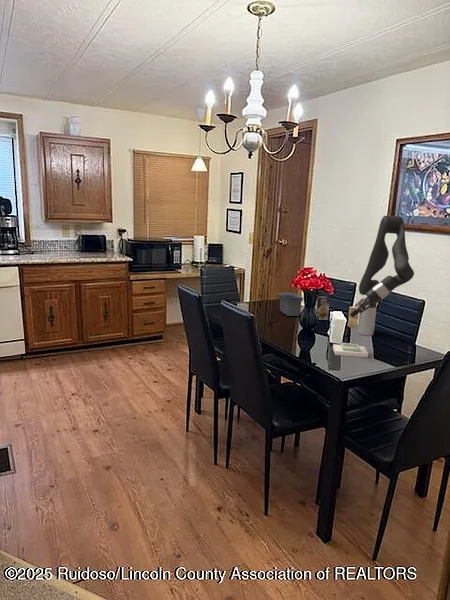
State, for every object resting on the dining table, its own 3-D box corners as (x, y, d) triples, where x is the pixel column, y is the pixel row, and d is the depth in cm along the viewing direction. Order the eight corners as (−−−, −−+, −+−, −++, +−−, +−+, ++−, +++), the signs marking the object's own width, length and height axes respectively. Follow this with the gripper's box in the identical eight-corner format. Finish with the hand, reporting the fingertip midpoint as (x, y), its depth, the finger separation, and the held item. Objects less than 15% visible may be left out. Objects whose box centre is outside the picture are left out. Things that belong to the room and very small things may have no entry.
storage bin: (275, 311, 310) (276, 292, 307) (295, 311, 313) (296, 292, 310) (285, 318, 289) (286, 297, 287) (306, 318, 293) (307, 297, 290)
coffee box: (316, 321, 285) (318, 297, 282) (311, 318, 291) (313, 295, 288) (328, 320, 287) (330, 297, 284) (323, 318, 293) (325, 295, 290)
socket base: (332, 347, 225) (333, 341, 225) (363, 350, 223) (364, 343, 223) (335, 354, 214) (335, 348, 213) (367, 357, 212) (368, 350, 211)
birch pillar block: (347, 325, 218) (349, 306, 216) (355, 326, 218) (357, 307, 216) (349, 327, 214) (350, 308, 212) (357, 327, 214) (359, 308, 212)
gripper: (369, 285, 218) (343, 306, 222) (375, 289, 204) (347, 312, 208) (379, 296, 218) (353, 317, 222) (385, 301, 204) (357, 323, 208)
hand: (350, 314), depth 215 cm, fingers closed on birch pillar block, 4 cm apart
